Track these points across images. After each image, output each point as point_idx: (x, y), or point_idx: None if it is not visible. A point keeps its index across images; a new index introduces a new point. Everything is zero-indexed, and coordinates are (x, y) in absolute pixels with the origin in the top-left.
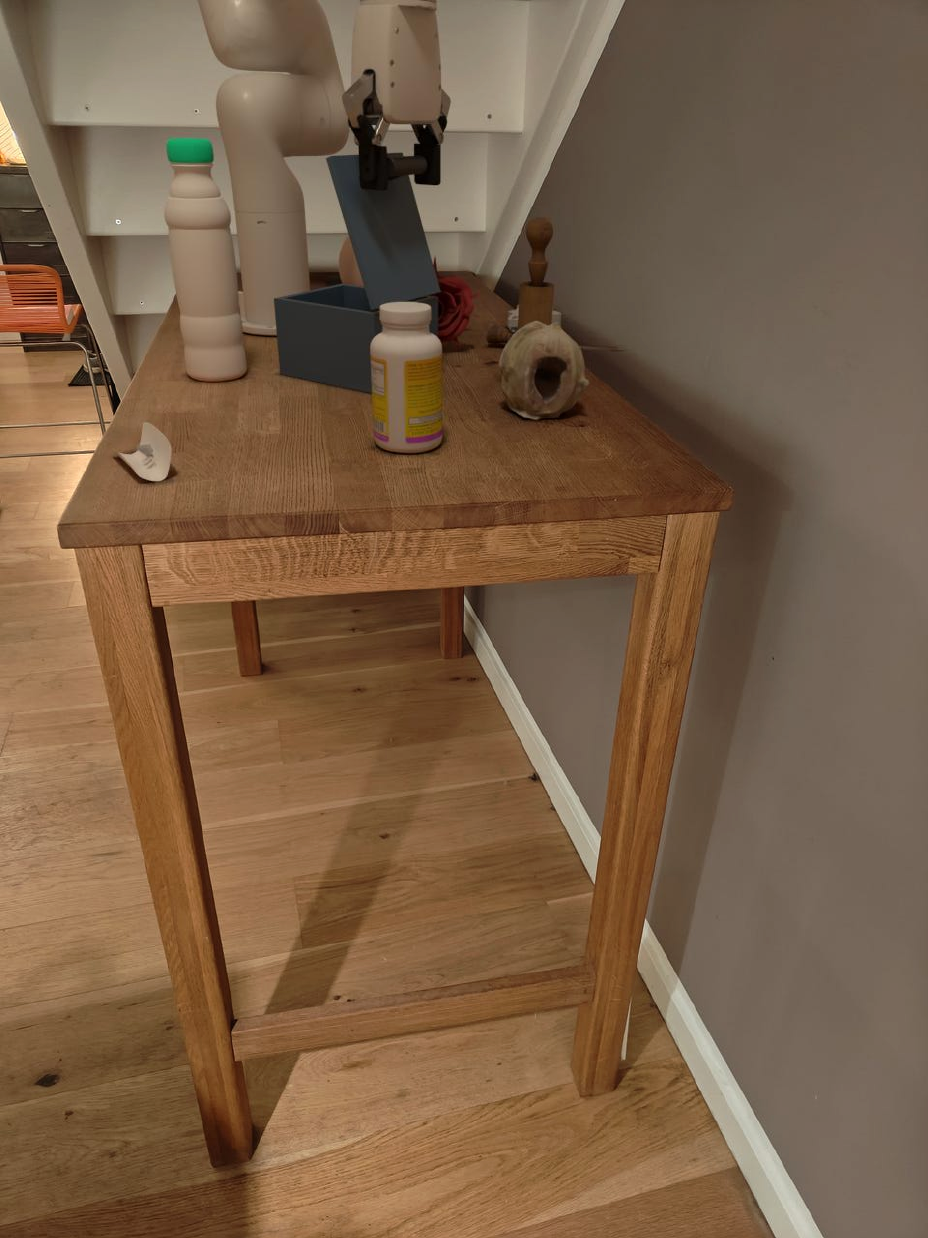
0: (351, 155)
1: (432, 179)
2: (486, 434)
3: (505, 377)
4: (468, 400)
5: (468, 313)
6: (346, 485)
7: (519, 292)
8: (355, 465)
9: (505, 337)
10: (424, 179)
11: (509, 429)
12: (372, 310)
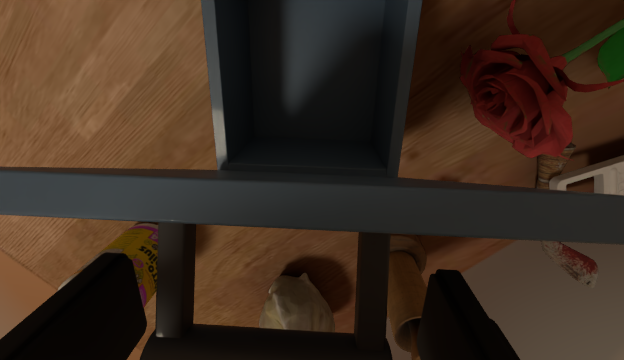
0: (86, 217)
1: (422, 344)
2: (217, 281)
3: (270, 294)
4: (291, 229)
5: (515, 148)
6: (60, 253)
7: (403, 309)
8: (90, 238)
9: (539, 170)
10: (427, 316)
11: (240, 289)
12: (395, 34)
